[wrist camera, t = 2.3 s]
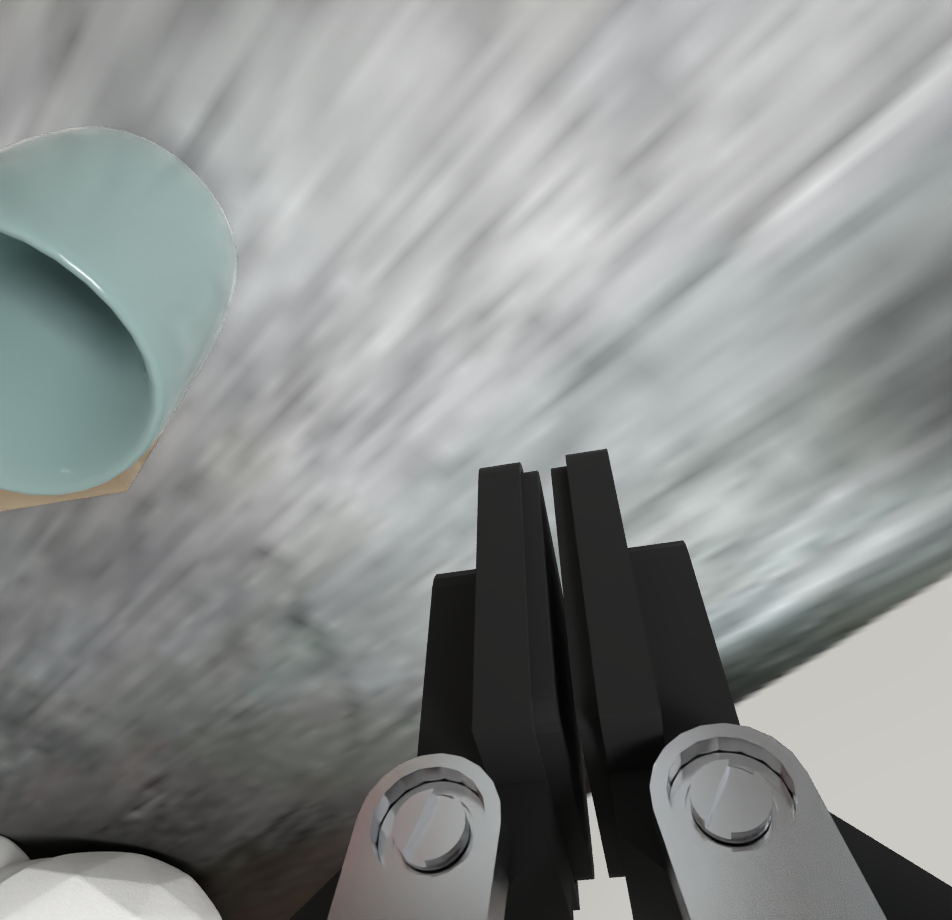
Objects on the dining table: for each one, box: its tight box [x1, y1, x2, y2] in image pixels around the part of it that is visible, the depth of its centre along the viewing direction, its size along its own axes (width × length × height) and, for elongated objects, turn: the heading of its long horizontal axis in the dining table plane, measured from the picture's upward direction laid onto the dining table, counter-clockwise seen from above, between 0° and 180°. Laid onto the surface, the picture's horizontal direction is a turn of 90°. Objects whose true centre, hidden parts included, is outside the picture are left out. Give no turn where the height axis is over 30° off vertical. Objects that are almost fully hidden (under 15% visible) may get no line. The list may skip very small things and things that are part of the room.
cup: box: [0, 127, 238, 495], centre depth 23 cm, size 8×8×10 cm
